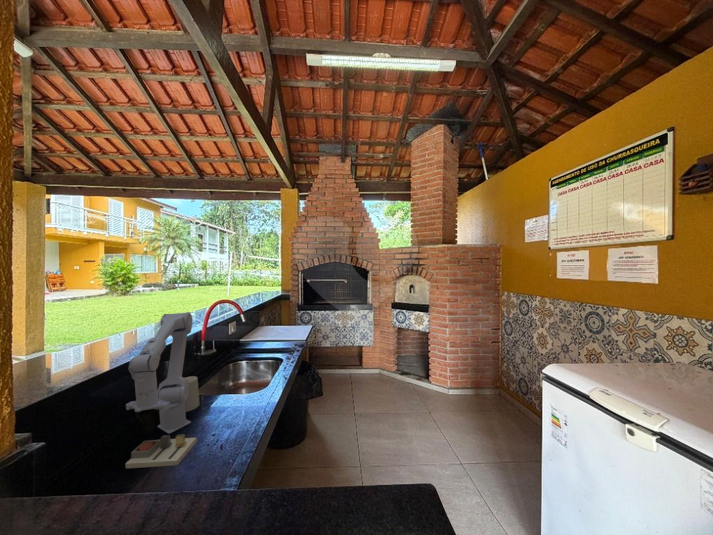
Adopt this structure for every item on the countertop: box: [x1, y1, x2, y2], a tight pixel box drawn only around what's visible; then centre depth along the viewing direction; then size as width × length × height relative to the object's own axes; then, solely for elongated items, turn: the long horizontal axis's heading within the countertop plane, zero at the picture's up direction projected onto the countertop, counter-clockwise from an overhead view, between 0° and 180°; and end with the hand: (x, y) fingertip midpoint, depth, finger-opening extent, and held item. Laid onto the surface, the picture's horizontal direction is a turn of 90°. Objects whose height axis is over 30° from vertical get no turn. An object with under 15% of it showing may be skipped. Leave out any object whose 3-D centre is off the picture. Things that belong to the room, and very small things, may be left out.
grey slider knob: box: [160, 434, 172, 448], centre depth 93 cm, size 3×2×3 cm, turn 91°
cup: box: [175, 375, 200, 413], centre depth 121 cm, size 8×8×12 cm
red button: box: [140, 442, 153, 451], centre depth 91 cm, size 4×4×2 cm
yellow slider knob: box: [175, 433, 187, 447], centre depth 93 cm, size 3×2×3 cm, turn 91°
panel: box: [124, 437, 198, 469], centre depth 92 cm, size 16×11×4 cm
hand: (150, 430), depth 92 cm, fingers closed
